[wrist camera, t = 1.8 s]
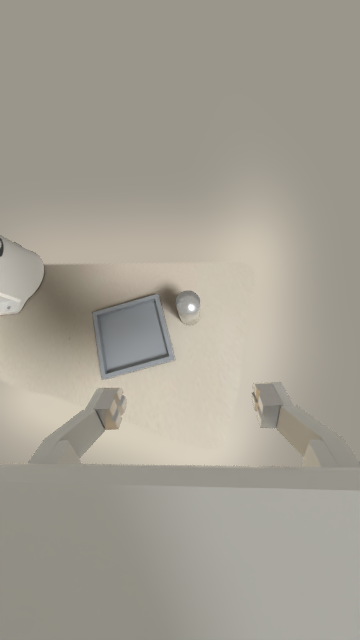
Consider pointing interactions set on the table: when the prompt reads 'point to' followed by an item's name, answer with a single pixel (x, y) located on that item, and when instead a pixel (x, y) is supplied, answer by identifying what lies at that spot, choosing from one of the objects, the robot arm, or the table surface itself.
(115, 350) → the parts tray
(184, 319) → the glossy grey cylinder
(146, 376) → the table surface
